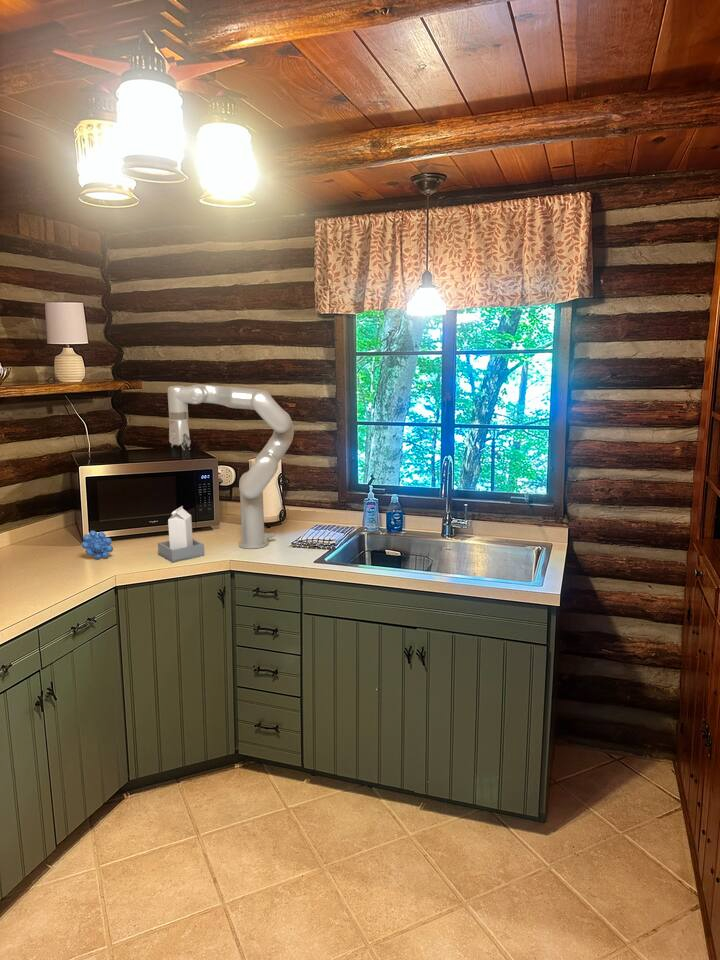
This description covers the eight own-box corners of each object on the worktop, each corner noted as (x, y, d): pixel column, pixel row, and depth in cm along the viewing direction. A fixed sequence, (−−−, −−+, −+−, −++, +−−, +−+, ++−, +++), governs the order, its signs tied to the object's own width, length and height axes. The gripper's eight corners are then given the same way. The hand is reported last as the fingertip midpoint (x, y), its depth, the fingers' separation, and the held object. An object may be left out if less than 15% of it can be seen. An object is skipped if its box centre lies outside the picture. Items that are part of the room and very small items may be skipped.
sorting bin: (189, 548, 290) (188, 537, 289) (204, 555, 279) (203, 544, 278) (158, 554, 281) (157, 543, 280) (172, 562, 271) (171, 550, 270)
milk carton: (193, 551, 283) (190, 505, 280) (187, 556, 276) (184, 510, 273) (176, 550, 284) (173, 505, 280) (170, 555, 277) (167, 509, 273)
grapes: (82, 563, 270) (79, 534, 268) (83, 558, 277) (80, 530, 274) (113, 560, 274) (111, 531, 272) (114, 556, 280) (111, 527, 278)
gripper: (161, 415, 284) (163, 456, 287) (179, 418, 270) (181, 461, 274) (178, 414, 288) (180, 454, 292) (196, 417, 275) (199, 459, 278)
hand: (181, 458), depth 283 cm, fingers open, 9 cm apart
